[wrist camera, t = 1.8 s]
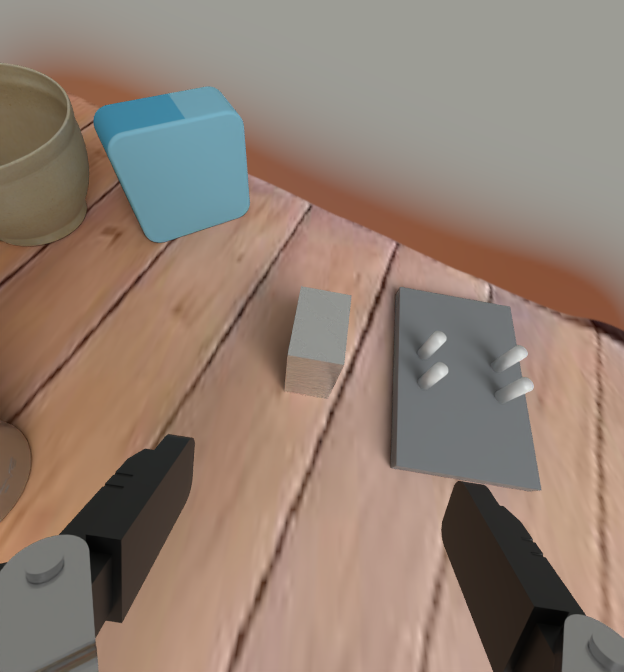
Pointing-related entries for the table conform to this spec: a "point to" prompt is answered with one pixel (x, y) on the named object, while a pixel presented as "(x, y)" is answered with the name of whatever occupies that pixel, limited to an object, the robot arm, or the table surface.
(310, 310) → the block
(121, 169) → the data package
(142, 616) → the table surface
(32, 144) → the planter bowl
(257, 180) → the table surface
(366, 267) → the table surface
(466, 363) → the drive dock
